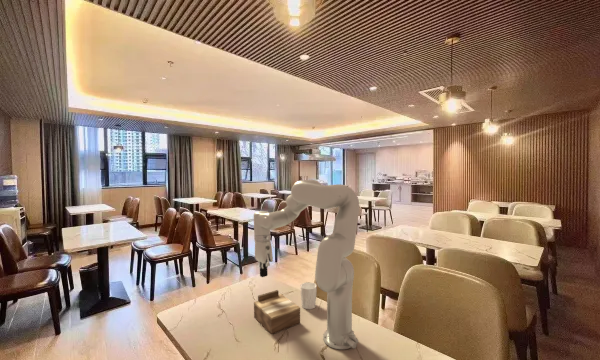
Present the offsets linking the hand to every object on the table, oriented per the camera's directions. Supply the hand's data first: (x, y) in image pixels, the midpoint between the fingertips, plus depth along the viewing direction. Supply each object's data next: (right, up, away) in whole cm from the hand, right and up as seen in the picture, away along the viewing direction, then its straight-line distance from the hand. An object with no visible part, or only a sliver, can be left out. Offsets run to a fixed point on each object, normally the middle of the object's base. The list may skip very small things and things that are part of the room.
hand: (263, 276), depth 128 cm
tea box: (+7, -16, -10) cm, 20 cm away
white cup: (+21, -16, +3) cm, 27 cm away
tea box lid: (+7, -10, -10) cm, 16 cm away
